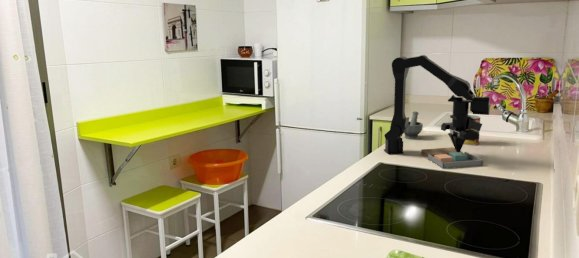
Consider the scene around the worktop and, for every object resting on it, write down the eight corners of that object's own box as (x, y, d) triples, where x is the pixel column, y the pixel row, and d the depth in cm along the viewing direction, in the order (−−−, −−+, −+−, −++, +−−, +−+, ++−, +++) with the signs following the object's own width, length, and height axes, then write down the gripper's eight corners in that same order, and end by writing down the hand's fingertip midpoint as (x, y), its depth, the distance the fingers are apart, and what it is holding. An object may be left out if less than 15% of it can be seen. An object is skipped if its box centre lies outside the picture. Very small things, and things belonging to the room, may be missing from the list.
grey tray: (442, 168, 167) (442, 163, 166) (427, 159, 178) (428, 154, 178) (482, 165, 169) (482, 160, 169) (465, 156, 181) (465, 151, 180)
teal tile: (455, 160, 174) (455, 156, 174) (448, 157, 179) (448, 152, 179) (466, 160, 175) (467, 155, 175) (460, 156, 180) (460, 151, 180)
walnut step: (429, 159, 179) (430, 154, 178) (421, 153, 186) (421, 149, 186) (462, 156, 181) (462, 152, 180) (452, 151, 188) (452, 147, 188)
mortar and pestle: (417, 141, 207) (418, 115, 204) (398, 138, 212) (398, 113, 209) (425, 136, 216) (426, 111, 213) (406, 133, 221) (406, 109, 218)
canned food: (480, 145, 197) (482, 118, 194) (461, 144, 198) (462, 118, 196) (476, 140, 204) (478, 115, 202) (458, 140, 206) (459, 114, 203)
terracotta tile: (440, 163, 172) (440, 158, 171) (434, 159, 177) (434, 154, 176) (452, 162, 173) (452, 157, 172) (445, 158, 177) (445, 153, 177)
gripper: (493, 116, 166) (490, 157, 170) (466, 108, 184) (464, 144, 188) (466, 118, 164) (463, 159, 168) (441, 109, 182) (439, 146, 186)
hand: (458, 152), depth 177 cm, fingers closed
